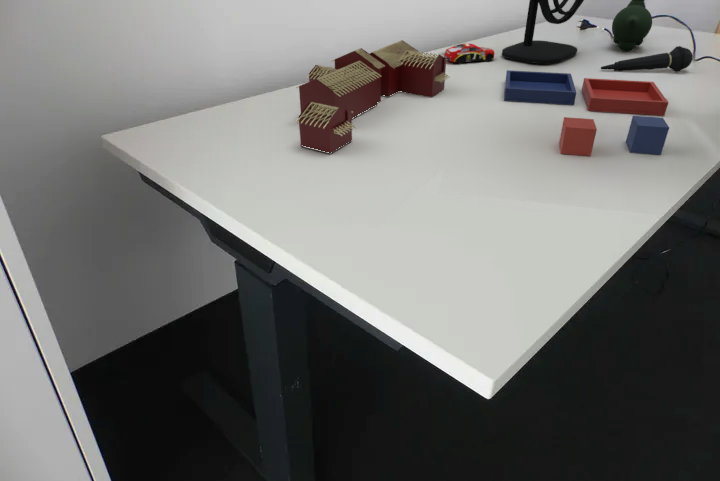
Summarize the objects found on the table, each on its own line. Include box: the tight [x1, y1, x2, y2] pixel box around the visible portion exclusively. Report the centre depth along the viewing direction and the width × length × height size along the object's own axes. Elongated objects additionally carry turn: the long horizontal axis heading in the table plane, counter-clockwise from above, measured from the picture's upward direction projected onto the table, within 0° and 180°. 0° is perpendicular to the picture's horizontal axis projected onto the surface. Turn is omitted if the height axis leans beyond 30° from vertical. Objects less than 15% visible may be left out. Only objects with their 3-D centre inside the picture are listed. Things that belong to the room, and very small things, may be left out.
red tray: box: [581, 77, 669, 117], centre depth 108 cm, size 14×14×3 cm
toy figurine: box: [611, 0, 653, 53], centre depth 143 cm, size 9×19×25 cm
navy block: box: [625, 115, 670, 156], centre depth 88 cm, size 5×5×5 cm
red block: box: [558, 116, 598, 157], centre depth 87 cm, size 5×5×5 cm
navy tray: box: [503, 69, 577, 106], centre depth 114 cm, size 14×14×3 cm
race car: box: [443, 42, 496, 64], centre depth 136 cm, size 13×5×4 cm, turn 105°
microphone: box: [600, 45, 694, 73], centre depth 126 cm, size 6×6×20 cm
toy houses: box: [295, 39, 451, 153], centre depth 104 cm, size 45×20×10 cm, turn 148°
